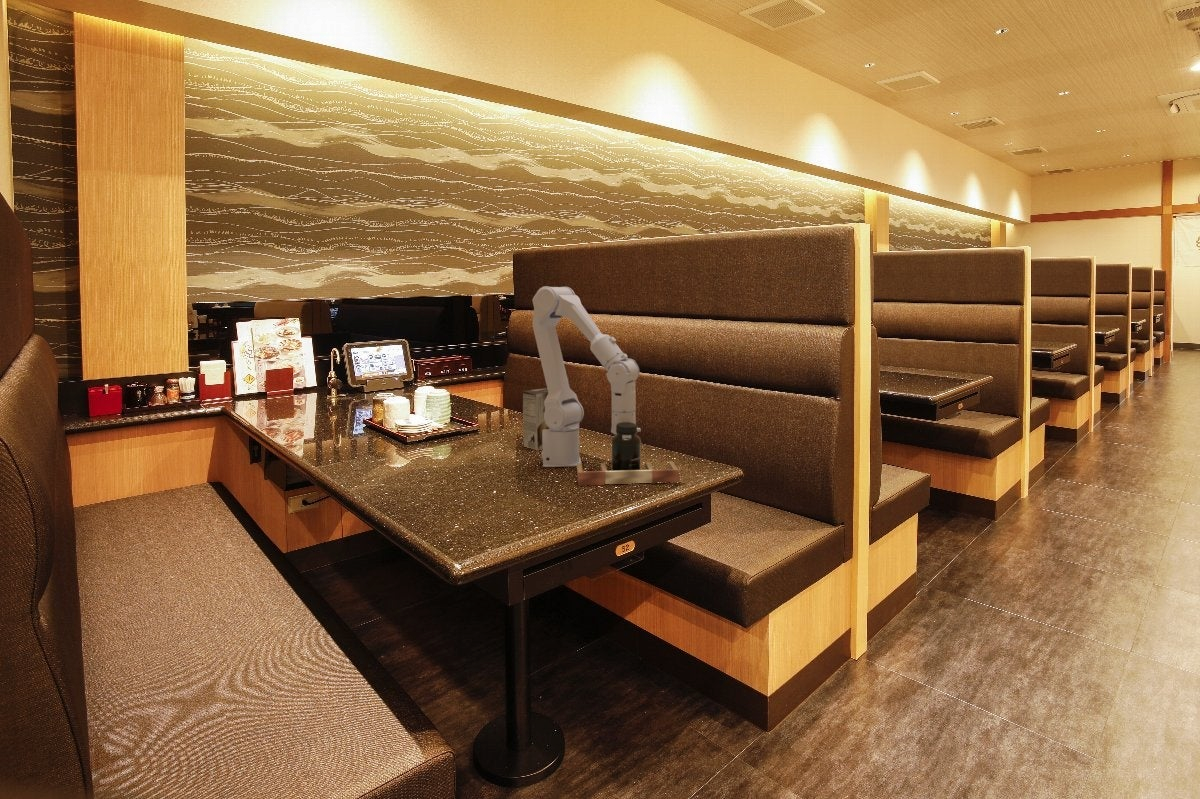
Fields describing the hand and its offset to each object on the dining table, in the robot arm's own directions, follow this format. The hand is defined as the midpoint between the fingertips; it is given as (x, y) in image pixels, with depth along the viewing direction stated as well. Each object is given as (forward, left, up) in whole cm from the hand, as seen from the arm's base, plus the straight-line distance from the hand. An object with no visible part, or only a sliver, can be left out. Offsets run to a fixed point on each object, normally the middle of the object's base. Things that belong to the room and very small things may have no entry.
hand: (624, 466), depth 166 cm
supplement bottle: (0, -4, -1) cm, 4 cm away
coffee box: (-20, +29, -1) cm, 35 cm away
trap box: (0, -8, -1) cm, 8 cm away
